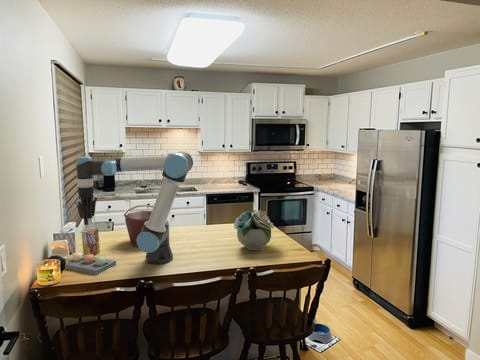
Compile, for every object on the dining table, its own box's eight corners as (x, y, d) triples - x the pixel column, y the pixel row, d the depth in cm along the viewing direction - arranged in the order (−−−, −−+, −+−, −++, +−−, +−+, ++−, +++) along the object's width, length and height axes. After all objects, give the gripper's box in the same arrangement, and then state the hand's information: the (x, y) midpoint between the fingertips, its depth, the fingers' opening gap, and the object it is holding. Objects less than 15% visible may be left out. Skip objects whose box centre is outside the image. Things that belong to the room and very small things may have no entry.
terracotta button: (96, 261, 191) (95, 254, 191) (89, 265, 187) (88, 257, 186) (89, 260, 193) (88, 253, 193) (81, 263, 189) (81, 256, 188)
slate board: (116, 265, 192) (115, 260, 192) (97, 275, 180) (96, 270, 179) (82, 258, 201) (82, 254, 201) (61, 267, 188) (61, 263, 188)
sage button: (107, 263, 188) (107, 256, 188) (100, 267, 184) (100, 260, 183) (100, 262, 190) (100, 255, 190) (93, 266, 186) (93, 258, 185)
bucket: (168, 238, 238) (167, 202, 234) (157, 249, 216) (156, 209, 212) (133, 237, 240) (131, 201, 236) (119, 248, 219) (117, 208, 215)
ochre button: (84, 259, 194) (84, 252, 194) (77, 262, 190) (77, 255, 189) (77, 258, 196) (77, 251, 196) (70, 261, 192) (70, 254, 191)
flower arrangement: (271, 257, 204) (272, 216, 200) (229, 254, 209) (229, 214, 205) (276, 243, 228) (276, 206, 224) (238, 240, 233) (238, 204, 229)
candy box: (94, 251, 212) (93, 227, 210) (100, 252, 211) (98, 228, 208) (82, 256, 204) (81, 231, 202) (88, 257, 203) (86, 232, 200)
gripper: (89, 183, 190) (92, 226, 194) (69, 187, 179) (73, 232, 182) (100, 184, 188) (102, 227, 191) (81, 188, 176) (84, 234, 179)
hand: (88, 230), depth 187 cm, fingers closed
